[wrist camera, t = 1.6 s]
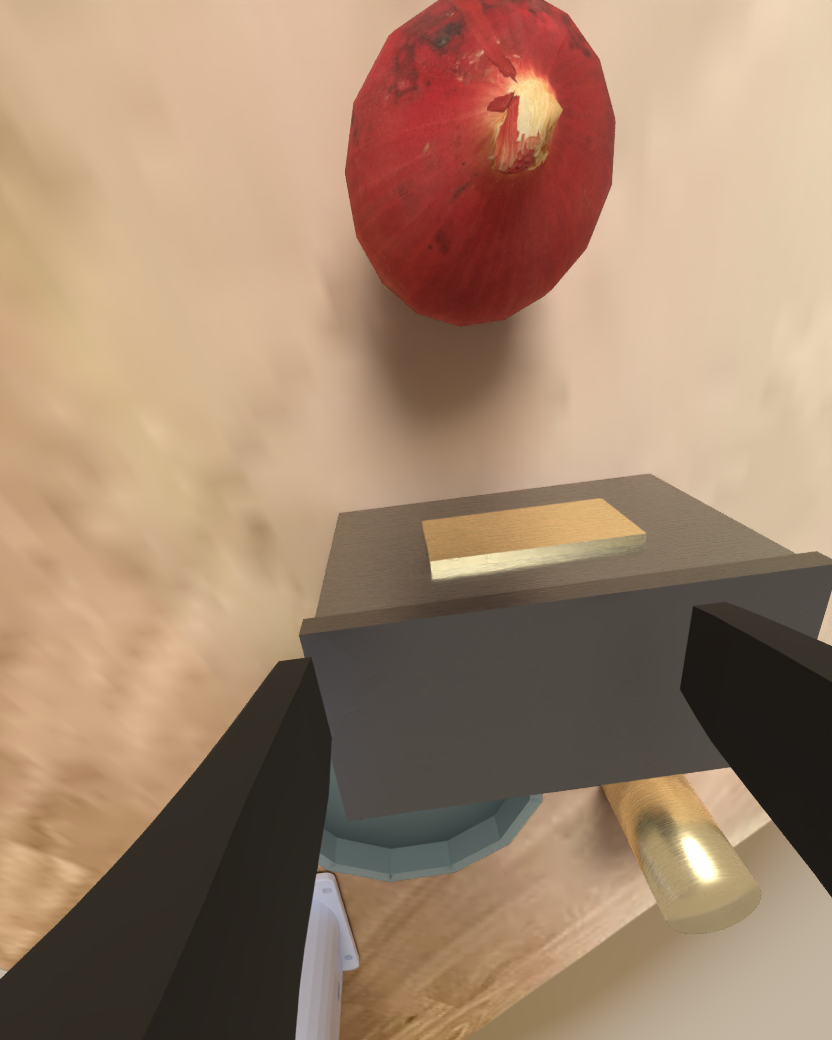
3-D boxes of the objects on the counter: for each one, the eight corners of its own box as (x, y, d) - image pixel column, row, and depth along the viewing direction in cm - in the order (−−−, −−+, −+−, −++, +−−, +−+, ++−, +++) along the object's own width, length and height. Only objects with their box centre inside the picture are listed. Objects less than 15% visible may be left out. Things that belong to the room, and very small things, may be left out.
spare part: (670, 794, 25) (751, 926, 20) (599, 804, 25) (660, 940, 19) (679, 742, 23) (770, 870, 18) (603, 753, 23) (670, 884, 18)
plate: (529, 816, 25) (542, 860, 23) (307, 848, 25) (300, 894, 23) (526, 636, 20) (542, 671, 18) (250, 673, 20) (235, 712, 18)
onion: (316, 170, 13) (233, -29, 6) (495, 48, 12) (665, -367, 5) (415, 357, 15) (447, 387, 8) (572, 263, 14) (771, 197, 7)
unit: (641, 608, 20) (781, 759, 13) (359, 645, 20) (347, 821, 13) (656, 465, 17) (841, 559, 10) (332, 506, 17) (298, 631, 10)
